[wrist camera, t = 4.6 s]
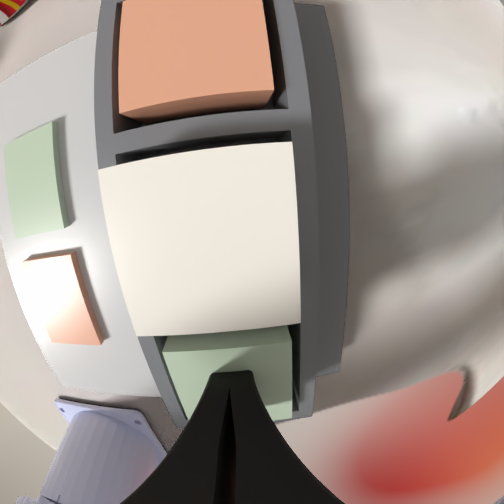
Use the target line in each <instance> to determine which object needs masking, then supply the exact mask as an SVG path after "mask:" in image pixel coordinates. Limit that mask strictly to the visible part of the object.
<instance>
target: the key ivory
mask: <svg viewBox="0 0 504 504" xmlns="http://www.w3.org/2000/svg"><path fill="white" fill-rule="evenodd" d="M98 176H99V184H100V191H101V197H102V204H103V210H104V215H105V221H106V226H107V231H108V236H109V241H110V245H111V250H112V254H113V258H114V262H115V266H116V270H117V274H118V278H119V282H120V285H121V289H122V292H123V296H124V299H125V303H126V306H127V309H128V312H129V315H130V319H131V322H132V325H133V328H134V330H135V333H136V336H167V335H187V334H203V333H216V332H228V331H239V330H249V329H258V328H266V327H275V326H283V325H290V324H297V323H301V299H300V259H299V234H298V214H297V198H296V183H295V169H294V156H293V145H292V142H275V143H260V144H248V145H237V146H228V147H219V148H211V149H203V150H196V151H189V152H182V153H176V154H170V155H164V156H159V157H153V158H148V159H143V160H138V161H134V162H129V163H124V164H120V165H116V166H111V167H107V168H103V169H99V170H98Z"/></svg>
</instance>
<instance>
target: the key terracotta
mask: <svg viewBox="0 0 504 504" xmlns="http://www.w3.org/2000/svg"><path fill="white" fill-rule="evenodd" d="M118 90H119V113H120V114H122V115H125V116H127V117H130V118H132V119H135V120H137V121H140V122H142V123H144V124H151V123H156V122H160V121H166V120H171V119H176V118H182V117H188V116H195V115H202V114H209V113H217V112H226V111H236V110H248V109H262V108H265V106H266V104H267V102H268V100H269V99H270V97H271V95H272V93H273V91H274V83H273V75H272V67H271V59H270V51H269V44H268V36H267V29H266V22H265V16H264V9H263V3H262V0H125V1H123V5H122V14H121V25H120V39H119V66H118Z"/></svg>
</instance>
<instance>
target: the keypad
mask: <svg viewBox="0 0 504 504" xmlns="http://www.w3.org/2000/svg"><path fill="white" fill-rule="evenodd" d="M123 1H125V0H102V1H101V7H100V14H99V21H98V29H97V31H94V32H92V33H89V34H87V35H85V36H82V37H80V38H78V39H76V40H73V41H71V42H69V43H67V44H65V45H63V46H61V47H59V48H57V49H55V50H53V51H51V52H49V53H47V54H46V55H44V56H42V57H40V58H39V59H37V60H35V61H33V62H32V63H30V64H29V65H27V66H25V67H24V68H22V69H21V70H19V71H18V72H16V73H14V74H13V75H12V76H10V77H9V78H7V79H6V80H4V81H3V82H2V83H0V238H1V242H2V246H3V250H4V254H5V258H6V261H7V265H8V268H9V272H10V275H11V278H12V281H13V284H14V287H15V290H16V293H17V296H18V298H19V301H20V304H21V306H22V309H23V311H24V314H25V316H26V319H27V321H28V323H29V326H30V328H31V330H32V332H33V335H34V337H35V339H36V341H37V343H38V345H39V347H40V349H41V351H42V353H43V355H44V357H45V359H46V361H47V362H48V364H49V366H50V368H51V370H52V371H53V373H54V375H55V377H56V378H57V380H58V382H59V383H60V385H61V387H65V388H70V389H77V390H83V391H90V392H98V393H107V394H118V395H130V396H148V397H162V399H163V401H164V403H165V405H166V408H167V410H168V412H169V414H170V416H171V418H172V420H173V422H174V424H175V426H176V427H185V426H186V425H187V423H188V421H189V420H188V418H187V415H186V413H185V411H184V408H183V406H182V404H181V401H180V399H179V396H178V394H177V391H176V389H175V386H174V383H173V381H172V378H171V375H170V373H169V370H168V367H167V364H166V362H165V359H164V356H163V353H162V351H163V348H164V345H165V342H166V339H167V337H168V335H167V336H136V333H135V330H134V328H133V325H132V322H131V319H130V315H129V312H128V309H127V306H126V303H125V299H124V296H123V292H122V289H121V285H120V282H119V278H118V274H117V270H116V266H115V262H114V258H113V254H112V250H111V245H110V241H109V236H108V231H107V226H106V221H105V215H104V210H103V204H102V197H101V191H100V184H99V176H98V170H99V169H103V168H107V167H111V166H116V165H120V164H124V163H129V162H134V161H138V160H143V159H148V158H153V157H159V156H164V155H170V154H176V153H182V152H189V151H196V150H203V149H211V148H219V147H228V146H237V145H248V144H260V143H275V142H292V145H293V156H294V169H295V183H296V198H297V214H298V234H299V259H300V299H301V323H297V324H290V325H287V327H288V330H289V334H290V337H291V340H292V418H289V419H282V420H274V421H273V422H279V421H286V420H293V419H299V418H305V417H310V416H312V413H313V403H314V392H315V379H316V377H317V376H322V375H328V374H332V373H337V372H339V370H340V362H341V354H342V346H343V337H344V327H345V316H346V303H347V287H348V266H349V187H348V166H347V151H346V138H345V127H344V118H343V109H342V101H341V93H340V86H339V79H338V73H337V67H336V61H335V55H334V50H333V45H332V40H331V35H330V30H329V26H328V21H327V17H326V13H325V9H324V6H320V5H310V4H298V3H294V2H293V0H262V3H263V9H264V16H265V22H266V29H267V36H268V44H269V51H270V59H271V67H272V75H273V83H274V91H273V93H272V95H271V97H270V99H269V100H268V102H267V104H266V106H265V108H262V109H248V110H236V111H226V112H217V113H209V114H202V115H195V116H188V117H182V118H176V119H171V120H166V121H160V122H156V123H151V124H144V123H142V122H140V121H137V120H135V119H132V118H130V117H127V116H125V115H122V114H120V113H119V90H118V66H119V39H120V25H121V14H122V5H123Z"/></svg>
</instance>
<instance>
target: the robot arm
mask: <svg viewBox="0 0 504 504" xmlns="http://www.w3.org/2000/svg"><path fill="white" fill-rule="evenodd" d="M54 404H55V405H56V407H57V408H58V410H59V411H60V412H61V414H62V415H63V416H64V418H65V419H66V420H67V422H68V423H69V426H68V428H67V430H66V432H65V435H64V437H63V439H62V441H61V443H60V446H59V448H58V450H57V453H56V455H55V457H54V460H53V462H52V464H51V467H50V469H49V472H48V474H47V477H46V479H45V482H44V485H43V487H42V490H41V493H40V495H39V496H38V497H37V498H36V499H35V502H34V499H33V498H31V497H29V496H28V495H26V496H25V497H24V496H18V498H17V500H16V502H15V504H33V503H34V504H345V503H343V502H342V501H341V500H339V499H338V498H337V497H336V496H335V495H334V494H333V493H332V492H331V491H330V490H328V489H327V488H326V487H325V486H324V485H323V484H322V483H321V482H320V481H319V480H318V479H317V478H316V477H315V476H314V475H313V474H312V473H311V472H310V471H309V470H308V469H307V468H306V466H305V465H304V464H303V463H302V462H301V460H300V459H299V458H298V457H297V456H296V454H295V453H294V452H293V450H292V449H291V448H290V447H289V445H288V444H287V442H286V441H285V439H284V438H283V436H282V435H281V433H280V432H279V431H278V429H277V427H276V425H275V424H274V422H273V420H272V419H271V417H270V415H269V413H268V411H267V409H266V407H265V406H264V403H263V401H262V399H261V397H260V394H259V392H258V389H257V387H256V384H255V380H254V376H253V372H252V371H250V370H242V371H231V372H217V373H212V374H211V375H210V376H209V379H208V382H207V384H206V387H205V389H204V391H203V394H202V396H201V398H200V400H199V402H198V404H197V406H196V408H195V410H194V412H193V414H192V416H191V418H190V419H189V421H188V423H187V425H186V426H185V428H184V430H183V431H182V433H181V434H180V436H179V438H178V439H177V441H176V442H175V444H174V445H173V447H172V448H171V450H170V451H169V452H168V454H167V453H166V451H165V450H164V448H163V447H162V445H161V443H160V442H159V440H158V439H157V437H156V436H155V434H154V432H153V431H152V429H151V428H150V426H149V424H148V423H147V421H146V419H145V417H144V416H143V414H142V413H141V412H139V411H137V410H129V409H119V408H111V407H103V406H96V405H89V404H83V403H78V402H72V401H67V400H62V399H55V401H54ZM494 504H504V496H503V497H502V498H500V499H499V500H497V501H496V502H495V503H494Z"/></svg>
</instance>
